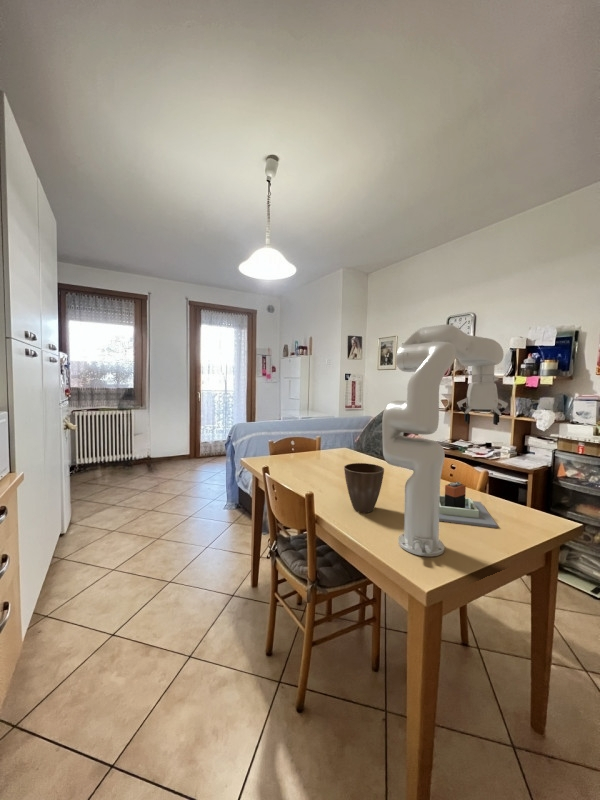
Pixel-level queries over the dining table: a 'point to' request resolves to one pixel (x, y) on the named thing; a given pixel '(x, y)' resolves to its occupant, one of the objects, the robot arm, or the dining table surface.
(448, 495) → the battery
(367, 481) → the plant pot
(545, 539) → the dining table surface
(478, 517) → the slot tray
